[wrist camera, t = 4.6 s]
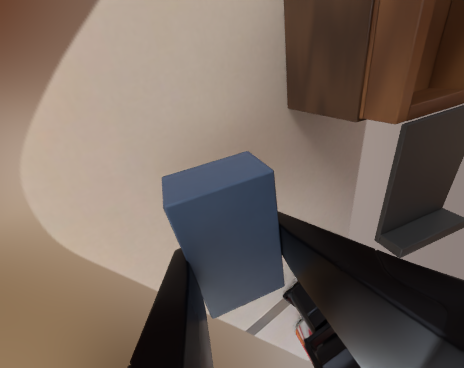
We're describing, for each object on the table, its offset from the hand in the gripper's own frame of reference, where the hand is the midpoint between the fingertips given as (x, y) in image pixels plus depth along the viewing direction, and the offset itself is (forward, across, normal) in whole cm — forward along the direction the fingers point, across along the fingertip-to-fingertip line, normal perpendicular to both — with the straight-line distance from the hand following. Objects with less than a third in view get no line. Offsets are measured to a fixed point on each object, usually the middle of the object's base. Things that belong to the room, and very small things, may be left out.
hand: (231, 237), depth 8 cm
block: (+1, 0, 0) cm, 1 cm away
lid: (+2, -13, +3) cm, 14 cm away
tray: (+4, -13, -5) cm, 15 cm away
